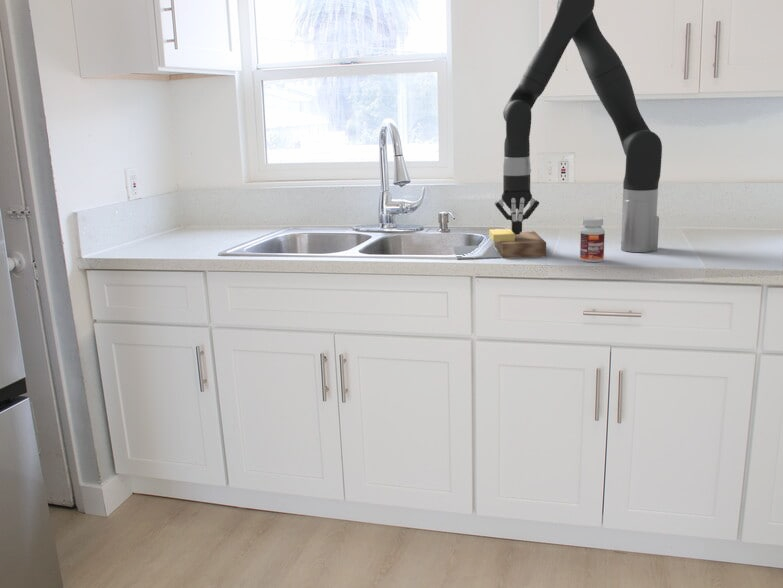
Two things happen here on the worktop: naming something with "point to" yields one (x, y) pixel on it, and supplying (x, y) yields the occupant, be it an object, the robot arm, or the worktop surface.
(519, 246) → the brown wooden block
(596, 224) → the pill bottle
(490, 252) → the mat
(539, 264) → the worktop surface
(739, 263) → the worktop surface
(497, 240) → the yellow rectangular block
